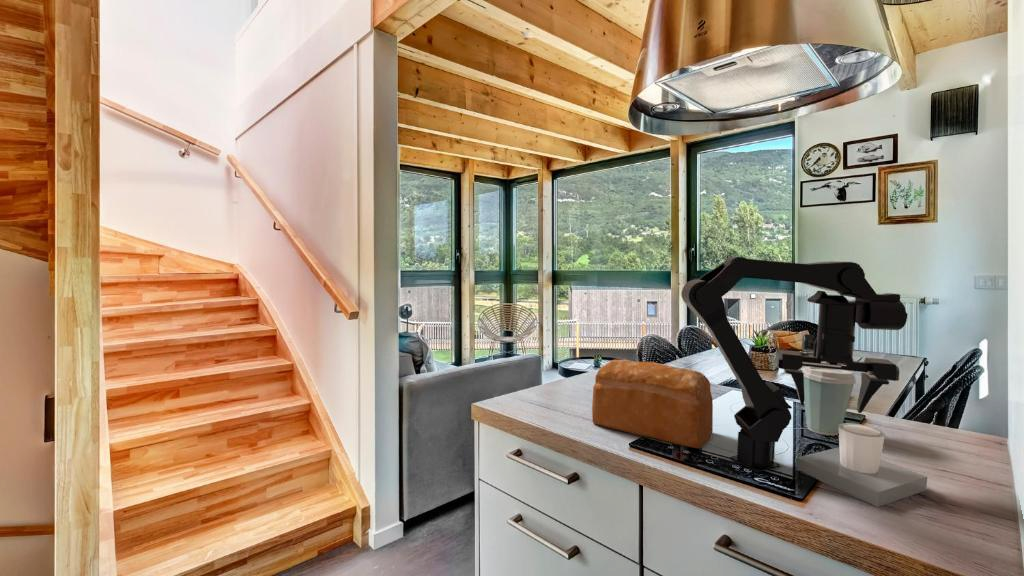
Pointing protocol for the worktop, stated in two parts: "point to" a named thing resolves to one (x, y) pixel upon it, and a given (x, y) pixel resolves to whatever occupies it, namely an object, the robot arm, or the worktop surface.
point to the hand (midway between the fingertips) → (830, 408)
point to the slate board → (863, 478)
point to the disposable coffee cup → (826, 398)
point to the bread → (654, 402)
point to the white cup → (860, 447)
